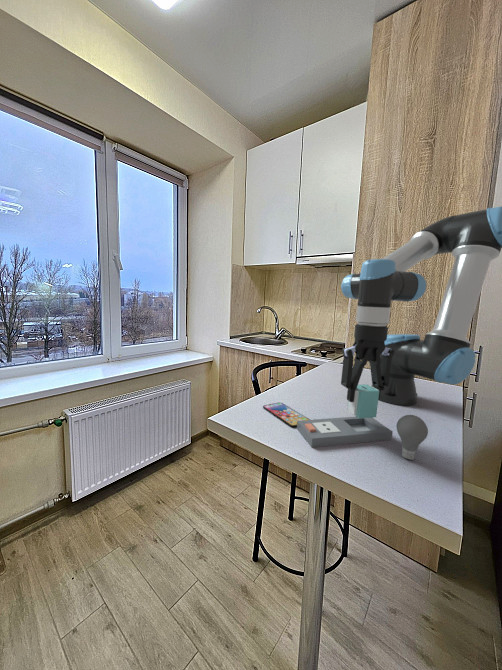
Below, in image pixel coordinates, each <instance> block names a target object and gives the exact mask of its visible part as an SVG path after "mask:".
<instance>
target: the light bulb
mask: <svg viewBox="0 0 502 670" xmlns="http://www.w3.org/2000/svg"><path fill="white" fill-rule="evenodd" d="M396 431H397V434H398V435H399V438H400V442H401V446H402V448H401V449H402V450H401V456H402V457H403V458H405V459H406V460H414V459H415V458H416V451H417V450H418V449H419V446H420V445H421V444H422V443H423V442H424V441H425V440H426V439H427V437H428V434H429V429H428V426H427V423H426V422H425V421H424V420H423V419H422V418H421V417H419V416H417V415H413V414H406V415H403V416H401V417H400V418H399V419H398V420H397V422H396Z"/></svg>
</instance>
